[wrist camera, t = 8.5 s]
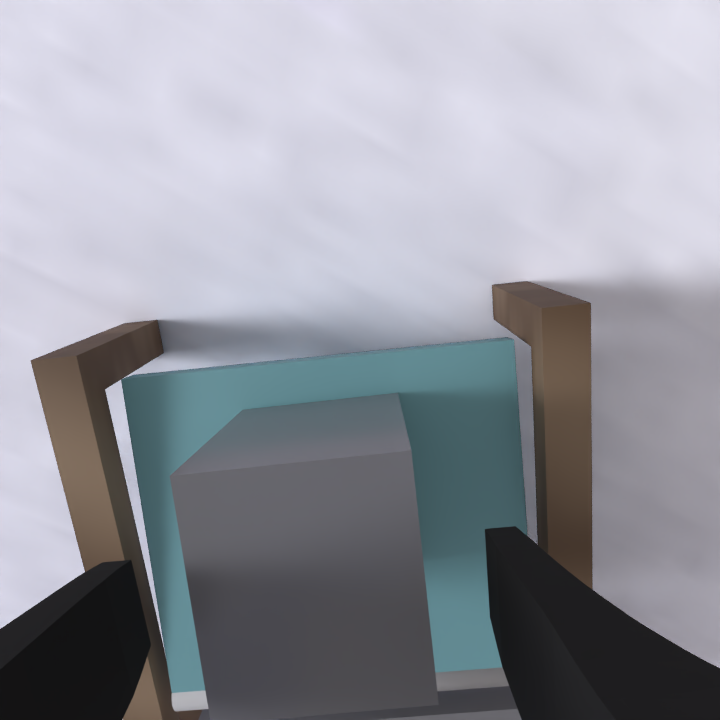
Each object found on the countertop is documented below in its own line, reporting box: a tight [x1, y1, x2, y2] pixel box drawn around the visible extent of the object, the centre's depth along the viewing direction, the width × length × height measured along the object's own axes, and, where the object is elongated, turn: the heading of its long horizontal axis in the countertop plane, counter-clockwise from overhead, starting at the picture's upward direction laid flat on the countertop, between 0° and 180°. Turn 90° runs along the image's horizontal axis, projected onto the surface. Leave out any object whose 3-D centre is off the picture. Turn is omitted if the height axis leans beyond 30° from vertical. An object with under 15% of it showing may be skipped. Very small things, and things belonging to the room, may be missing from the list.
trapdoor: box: [121, 337, 527, 720], centre depth 18 cm, size 15×11×4 cm
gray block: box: [170, 393, 439, 720], centre depth 13 cm, size 5×4×6 cm
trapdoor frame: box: [31, 281, 592, 720], centre depth 18 cm, size 15×14×6 cm
